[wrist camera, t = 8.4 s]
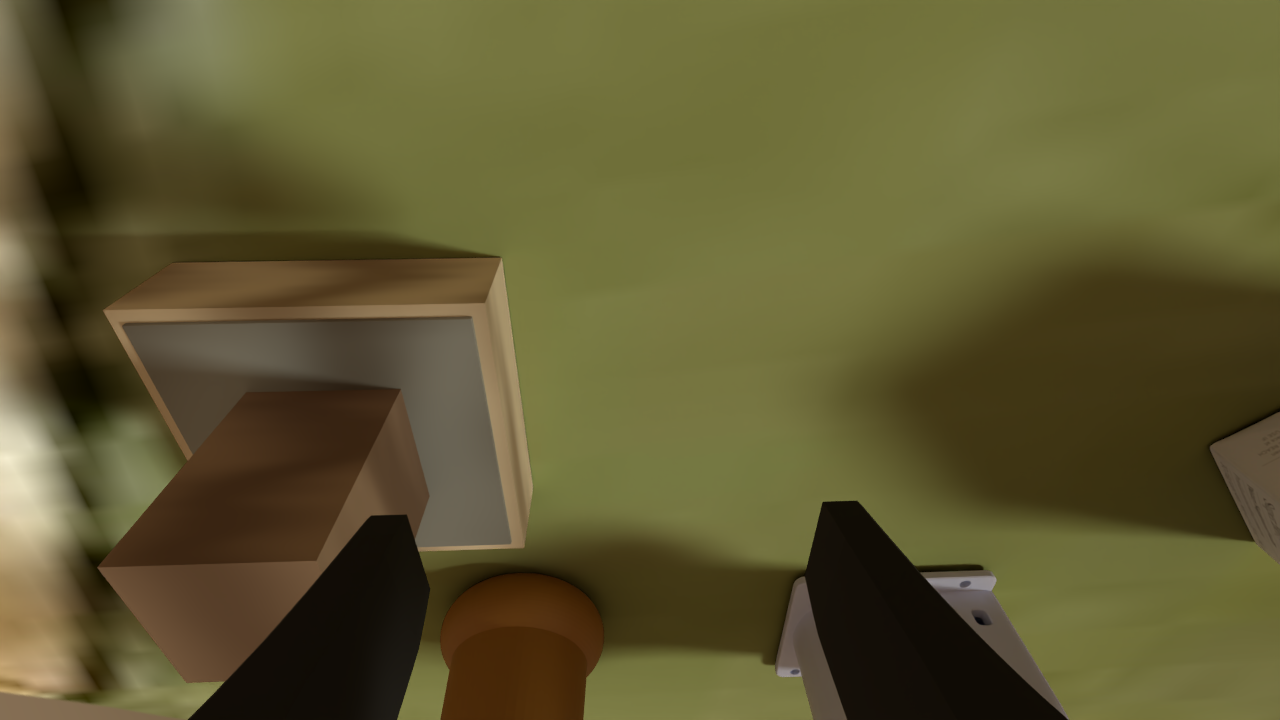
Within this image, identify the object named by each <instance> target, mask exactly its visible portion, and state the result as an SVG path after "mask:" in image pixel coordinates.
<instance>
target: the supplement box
mask: <svg viewBox="0 0 1280 720" xmlns="http://www.w3.org/2000/svg"><path fill="white" fill-rule="evenodd" d="M1210 451H1211V453H1212V455H1213V457H1214V459H1215V461H1216V464H1217V466H1218V468H1219V470H1220V472H1221V474H1222V476H1223V478H1224V480H1225V482H1226V484H1227V486H1228V488H1229V490H1230V492H1231V494H1232V496H1233V498H1234V500H1235V502H1236V504H1237V507H1238V509H1239V511H1240V513H1241V515H1242V517H1243V519H1244V521H1245V523H1246V525H1247V527H1248V529H1249V531H1250V533H1251V535H1252V537H1253V539H1254V541H1255V542H1256V544H1257V545H1258V546H1259V547H1260V548H1261V549H1263V550H1264V551H1265V552H1266V553H1267V554H1268V555H1269V556H1271V557H1272V558H1273V559H1274V560H1275V561H1276V562H1277V563H1278V564H1280V412H1278V413H1276V414H1274V415H1272V416H1270V417H1268V418H1266V419H1264V420H1262V421H1260V422H1258V423H1256V424H1254V425H1252V426H1250V427H1248V428H1246V429H1244V430H1241V431H1239V432H1237V433H1235V434H1233V435H1231V436H1229V437H1227V438H1225V439H1222V440H1220V441H1218V442H1216V443H1214V444H1212V445H1211V446H1210Z"/></svg>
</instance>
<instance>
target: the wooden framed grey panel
mask: <svg viewBox="0 0 1280 720" xmlns="http://www.w3.org/2000/svg"><path fill="white" fill-rule="evenodd" d="M103 311H104V313H105V315H106V317H107V319H108V320H109V322H110V324H111V326H112V327H113V329H114V331H115V333H116V335H117V336H118V338H119V340H120V342H121V343H122V345H123V347H124V349H125V351H126V352H127V354H128V356H129V358H130V359H131V361H132V363H133V365H134V367H135V368H136V370H137V372H138V374H139V375H140V377H141V379H142V381H143V383H144V384H145V386H146V388H147V390H148V391H149V393H150V395H151V397H152V399H153V400H154V402H155V404H156V406H157V407H158V409H159V411H160V413H161V415H162V416H163V418H164V420H165V422H166V423H167V425H168V427H169V429H170V431H171V432H172V434H173V436H174V438H175V439H176V441H177V443H178V445H179V447H180V448H181V450H182V452H183V454H184V455H185V457H186V459H187V461H188V460H189V459H190V458H191V457H192V455H193V454H194V453H195V452H196V451H197V449H198V448H199V447H200V446H201V445H202V444H203V442H204V441H205V440H206V439H207V438H208V437H209V435H210V434H211V433H212V432H213V431H214V429H215V428H216V427H217V426H218V425H219V424H220V422H221V421H222V420H223V419H224V418H225V417H226V415H227V414H228V413H229V412H230V411H231V409H232V408H233V407H234V406H235V405H236V404H237V402H238V401H239V400H240V399H241V398H242V396H243V395H244V394H245V393H246V392H286V391H334V390H382V389H401V391H402V395H403V399H404V403H405V406H406V410H407V414H408V417H409V421H410V425H411V429H412V432H413V436H414V440H415V443H416V447H417V451H418V455H419V458H420V462H421V466H422V469H423V473H424V477H425V481H426V484H427V488H428V492H429V496H430V497H429V500H428V503H427V506H426V509H425V512H424V514H423V517H422V520H421V523H420V526H419V529H418V532H417V535H416V538H415V542H416V545H417V548H418V551H444V550H475V549H506V548H524V546H525V539H526V532H527V525H528V518H529V512H530V505H531V498H532V491H533V483H532V476H531V469H530V461H529V454H528V447H527V439H526V432H525V424H524V417H523V410H522V402H521V395H520V388H519V380H518V373H517V366H516V358H515V351H514V344H513V336H512V329H511V322H510V314H509V307H508V300H507V292H506V285H505V277H504V270H503V263H502V258H447V259H382V260H318V261H253V262H188V263H171V264H170V265H168V266H167V267H165V268H164V269H162V270H161V271H159V272H158V273H156V274H155V275H153V276H152V277H151V278H149V279H148V280H146V281H145V282H143V283H142V284H140V285H139V286H137V287H136V288H134V289H133V290H132V291H130V292H129V293H127V294H126V295H124V296H123V297H121V298H120V299H118V300H117V301H115V302H114V303H113V304H111V305H110V306H108V307H107V308H105V309H104V310H103Z"/></svg>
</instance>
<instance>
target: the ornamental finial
mask: <svg viewBox="0 0 1280 720" xmlns="http://www.w3.org/2000/svg"><path fill="white" fill-rule="evenodd" d="M440 643H441V651H442V655H443V658H444V660H445V663H446V665H447V666H448V668H449V669H450V671H449V677H448V682H447V687H446V693H445V698H444V704H443V709H442V714H441V720H583V715H584V702H585V688H586V677H587V676H588V675H589V674H590V673H591V672H592V670H593V669H594V668H595V666H596V664H597V663H598V660H599V658H600V656H601V653H602V649H603V644H604V629H603V623H602V620H601V617H600V614H599V612H598V610H597V608H596V607H595V605H594V604H593V602H592V601H591V600H590V599H589V598H588V597H587V596H586V595H585V594H584V593H583V592H582V591H581V590H579V589H578V588H576V587H575V586H573V585H571V584H570V583H568V582H565V581H563V580H561V579H558V578H555V577H551V576H547V575H542V574H535V573H511V574H504V575H499V576H495V577H492V578H489V579H486V580H484V581H482V582H479V583H477V584H476V585H474V586H472V587H471V588H469V589H468V590H466V591H465V592H464V593H463V594H462V595H461V596H459V597H458V598H457V600H456V601H455V602H454V603H453V604H452V606H451V607H450V609H449V610H448V612H447V614H446V616H445V619H444V621H443V625H442V629H441V636H440Z"/></svg>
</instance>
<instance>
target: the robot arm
mask: <svg viewBox="0 0 1280 720" xmlns="http://www.w3.org/2000/svg"><path fill="white" fill-rule="evenodd" d="M995 583H996V578H995V576H994V575H993V573H992V572H991V571H988V570H975V571H946V572H919V571H918V570H917V569H916V567H915V566H914V565H913V564H912V563H911V562H910V561H909V559H908V558H907V557H906V556H905V555H904V554H903V553H902V551H901V550H900V549H899V548H898V547H897V546H896V545H895V543H894V542H893V541H892V540H891V539H890V538H889V537H888V535H887V534H886V533H885V532H884V531H883V530H882V528H881V527H880V526H879V525H878V524H877V523H876V521H875V520H874V519H873V518H872V517H871V516H870V514H869V513H868V512H867V511H866V510H865V509H864V507H863V506H862V505H861V504H860V503H859V502H858V501H834V502H823V503H822V507H821V511H820V515H819V519H818V523H817V528H816V532H815V536H814V540H813V544H812V548H811V552H810V556H809V561H808V565H807V569H806V573H805V577H800V578H798V579H797V580H796V581H795V582H794V584H793V588H792V593H791V597H790V602H789V606H788V610H787V615H786V619H785V623H784V628H783V632H782V637H781V641H780V645H779V650H778V654H777V658H776V663H775V671H776V674H777V675H778V676H781V677H796V676H802V679H803V683H804V686H805V690H806V694H807V697H808V701H809V705H810V709H811V712H812V716H813V720H1069V718H1068V716H1067V715H1066V713H1065V711H1064V709H1063V707H1062V706H1061V704H1060V702H1059V701H1058V699H1057V697H1056V696H1055V694H1054V692H1053V691H1052V689H1051V687H1050V686H1049V684H1048V682H1047V681H1046V679H1045V677H1044V676H1043V674H1042V673H1041V671H1040V669H1039V668H1038V666H1037V664H1036V663H1035V661H1034V659H1033V658H1032V656H1031V654H1030V653H1029V651H1028V650H1027V648H1026V646H1025V645H1024V643H1023V641H1022V640H1021V638H1020V636H1019V635H1018V633H1017V631H1016V630H1015V628H1014V626H1013V625H1012V623H1011V622H1010V620H1009V618H1008V617H1007V615H1006V613H1005V612H1004V610H1003V608H1002V607H1001V605H1000V603H999V602H998V600H997V599H996V597H995V595H994V594H993V592H992V589H993V587H994V585H995ZM429 592H430V587H429V584H428V581H427V577H426V574H425V571H424V568H423V565H422V561H421V558H420V555H419V552H418V548H417V545H416V542H415V539H414V535H413V532H412V529H411V526H410V523H409V519H408V516H407V514H404V515H371V516H370V517H369V518H368V519H367V520H366V521H365V522H364V523H363V525H362V526H361V527H360V528H359V529H358V531H357V532H356V533H355V534H354V535H353V537H352V538H351V539H350V540H349V541H348V543H347V544H346V545H345V546H344V548H343V549H342V550H341V551H340V552H339V554H338V555H337V556H336V557H335V558H334V560H333V561H332V562H331V563H330V564H329V566H328V567H327V568H326V569H325V570H324V572H323V573H322V574H321V575H320V576H319V578H318V579H317V580H316V581H315V582H314V584H313V585H312V586H311V587H310V588H309V589H308V591H307V592H306V593H305V594H304V595H303V596H302V598H301V599H300V600H299V601H298V602H297V603H296V604H295V606H294V607H293V608H292V609H291V610H290V611H289V612H288V614H287V615H286V616H285V617H284V618H283V619H282V620H281V622H280V623H279V624H278V625H277V626H276V627H275V628H274V630H273V631H272V632H271V633H270V634H269V635H268V636H267V637H266V639H265V640H264V641H263V642H262V643H261V644H260V645H259V646H258V647H257V648H256V649H255V650H254V652H253V653H252V654H251V655H250V656H249V657H248V658H247V659H246V660H245V661H244V662H243V663H242V664H241V665H240V666H239V667H238V669H237V670H236V671H235V672H234V673H233V674H232V675H231V676H230V677H229V678H228V679H227V680H226V681H225V682H224V683H223V684H222V685H221V687H220V688H219V689H218V690H217V691H216V692H215V693H214V694H213V695H212V696H211V697H210V698H209V699H208V700H207V701H206V702H205V703H204V704H203V705H202V706H201V707H200V708H199V709H198V710H197V711H196V712H195V713H194V714H193V715H192V716H191V717H190V718H189V719H188V720H397V718H398V715H399V711H400V708H401V705H402V702H403V699H404V695H405V692H406V689H407V686H408V683H409V679H410V676H411V673H412V670H413V666H414V663H415V660H416V656H417V653H418V650H419V645H420V640H421V635H422V630H423V625H424V620H425V615H426V609H427V604H428V598H429Z"/></svg>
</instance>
